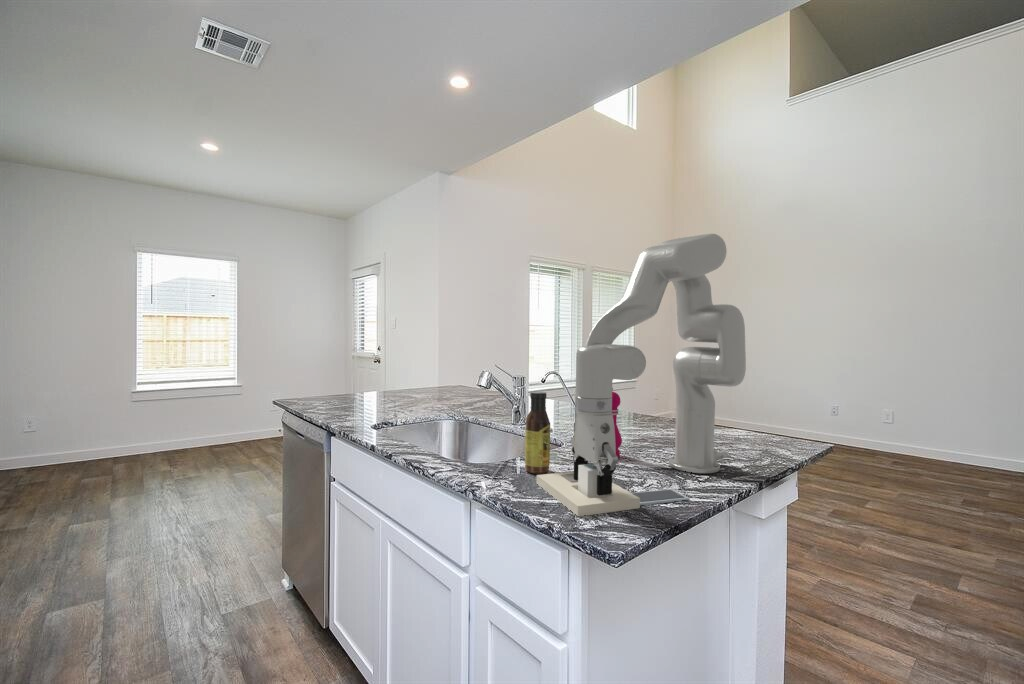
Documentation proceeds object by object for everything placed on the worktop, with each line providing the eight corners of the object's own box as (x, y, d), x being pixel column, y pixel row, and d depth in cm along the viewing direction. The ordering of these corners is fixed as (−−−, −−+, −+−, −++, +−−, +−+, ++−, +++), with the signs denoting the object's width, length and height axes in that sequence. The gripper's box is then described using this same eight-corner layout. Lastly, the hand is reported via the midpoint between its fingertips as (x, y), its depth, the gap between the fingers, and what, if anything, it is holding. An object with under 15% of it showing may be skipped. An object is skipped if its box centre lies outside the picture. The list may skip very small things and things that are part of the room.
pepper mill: (593, 457, 131) (594, 386, 130) (598, 451, 137) (599, 383, 137) (619, 460, 128) (620, 388, 128) (623, 454, 135) (624, 385, 134)
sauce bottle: (547, 475, 114) (549, 394, 113) (522, 473, 115) (523, 393, 115) (551, 468, 120) (552, 391, 120) (527, 466, 121) (528, 390, 121)
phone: (671, 493, 105) (672, 488, 105) (689, 502, 99) (689, 497, 99) (624, 498, 101) (624, 493, 101) (639, 508, 95) (639, 502, 95)
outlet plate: (590, 478, 113) (590, 469, 113) (639, 508, 94) (640, 497, 94) (536, 483, 108) (536, 474, 108) (577, 516, 89) (577, 505, 89)
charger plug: (595, 495, 101) (596, 462, 100) (605, 502, 97) (606, 467, 96) (577, 497, 99) (578, 463, 99) (587, 504, 95) (587, 469, 95)
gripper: (633, 411, 91) (631, 498, 91) (588, 398, 107) (587, 473, 107) (599, 413, 88) (597, 503, 89) (559, 399, 104) (557, 476, 105)
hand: (591, 486), depth 98 cm, fingers open, 9 cm apart
